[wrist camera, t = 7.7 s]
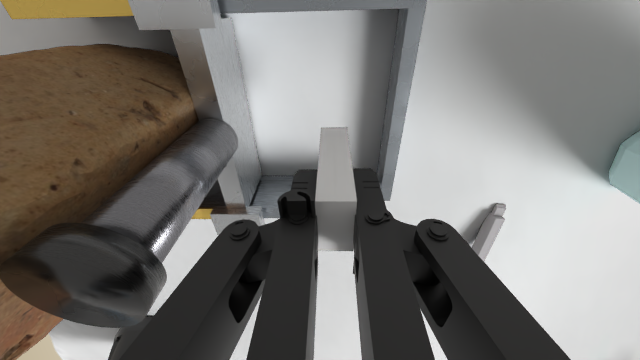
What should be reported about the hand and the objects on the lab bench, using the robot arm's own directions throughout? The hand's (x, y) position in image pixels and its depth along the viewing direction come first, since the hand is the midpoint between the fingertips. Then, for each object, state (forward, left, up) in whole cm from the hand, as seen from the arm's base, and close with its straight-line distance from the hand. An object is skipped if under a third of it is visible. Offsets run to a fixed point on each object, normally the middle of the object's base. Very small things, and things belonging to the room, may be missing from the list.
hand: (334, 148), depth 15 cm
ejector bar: (-8, 0, -7) cm, 11 cm away
